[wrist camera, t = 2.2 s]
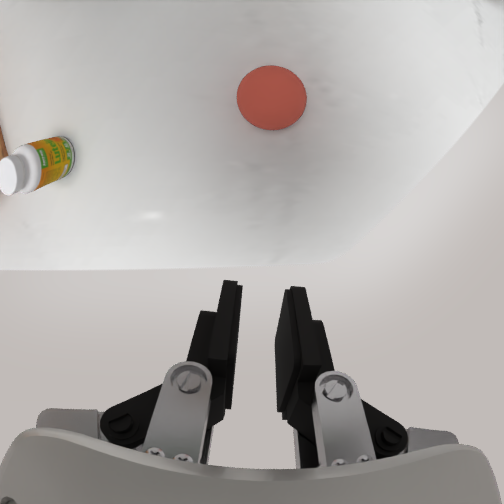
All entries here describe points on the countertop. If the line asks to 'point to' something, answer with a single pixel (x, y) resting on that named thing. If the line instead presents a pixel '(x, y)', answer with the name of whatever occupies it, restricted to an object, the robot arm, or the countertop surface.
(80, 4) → the countertop surface
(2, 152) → the wooden box
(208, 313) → the robot arm
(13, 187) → the supplement bottle
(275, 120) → the ball
